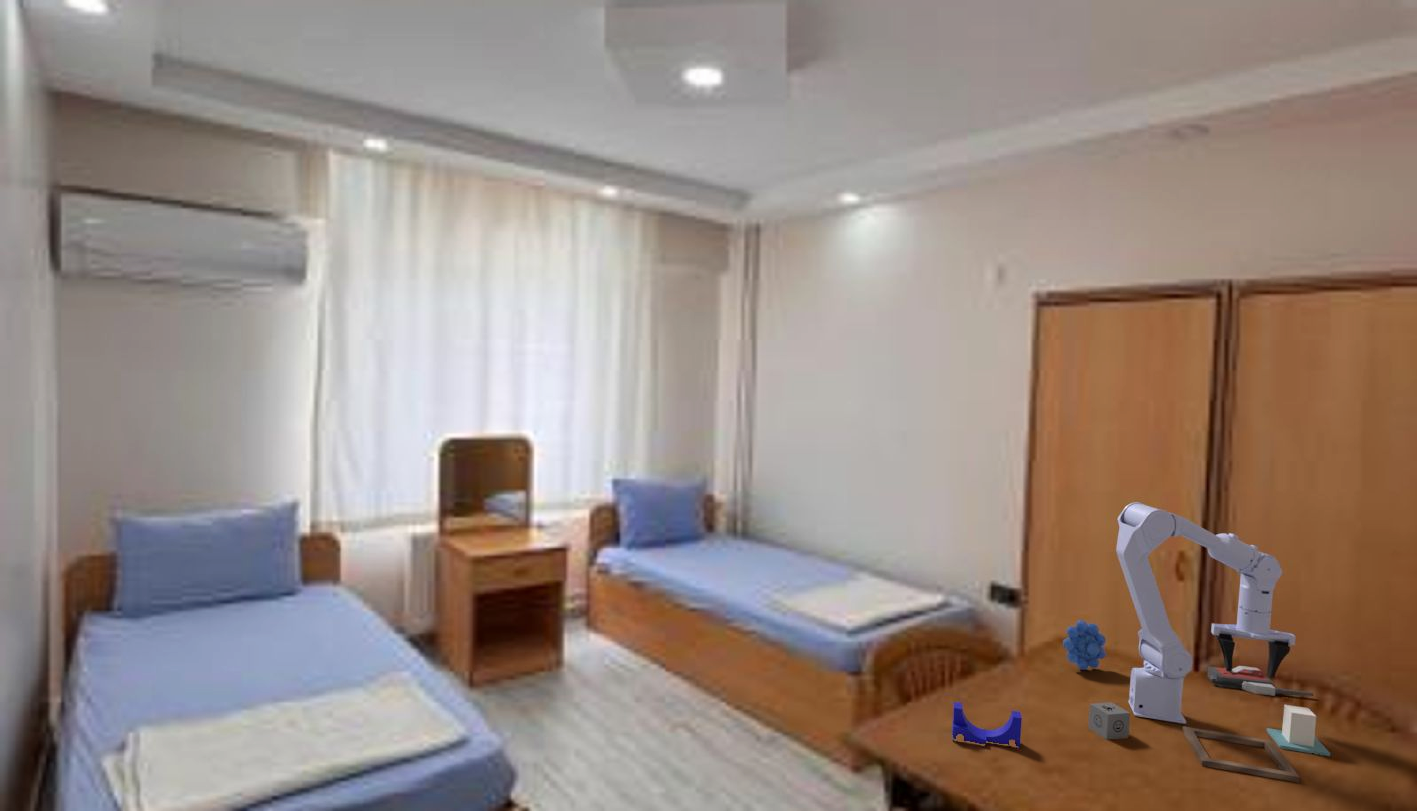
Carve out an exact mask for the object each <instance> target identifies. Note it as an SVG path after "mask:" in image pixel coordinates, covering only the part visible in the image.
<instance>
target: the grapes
mask: <svg viewBox="0 0 1417 811" xmlns="http://www.w3.org/2000/svg"><path fill="white" fill-rule="evenodd" d="M1066 635H1067V636H1068V637H1067V638H1064V640H1063V641H1062V647H1063V648H1064V650H1067V653H1066V659H1067V661H1069V662H1070V663H1072V664H1076V666H1077V668H1078V669H1080V670H1082V671H1085V670H1087V669H1089V667H1090V669H1096V668H1098V667H1099V665H1100V660H1102V659H1104V658H1105V657H1106V656H1107V655H1106V654H1107V653H1106V652H1107V651H1106V650H1105V648H1104V647H1103V646H1104V645H1106V643H1107V642H1106V641H1107V640H1106V637H1105V635H1104V634H1102V633H1100V628H1099V626H1098V625H1097V624H1095V623H1092V622H1090V623H1087V622H1086V621H1085V620H1082V619H1080V620H1077V621H1076V623H1075V626H1073V625H1070V626H1068V627H1067V628H1066Z"/></svg>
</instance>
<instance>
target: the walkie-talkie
mask: <svg viewBox="0 0 1417 811" xmlns="http://www.w3.org/2000/svg"><path fill="white" fill-rule="evenodd" d="M1207 678H1208V679H1209V680H1210V682H1211V684H1213V685H1215V684H1216V685H1215V686H1217V687H1221V688H1227V689H1228V688H1230V689H1231V688H1232V689H1238V690H1239V689H1240V690H1243V691H1246V692H1249V693H1252V694H1256V695H1263V696H1264V695H1265V696H1273V697H1275V696H1276V695H1280V694H1283V695H1292V696H1309V697H1313V696H1314V693H1313V692H1311V691H1303V690H1293V689H1287V688H1279V687H1275V686H1274V682H1273V681H1272V680H1271V678H1269V676H1268V675H1265V673H1264V672H1263V671H1262V670H1261V669H1259V668H1258V667H1253V666H1245V665H1238V666H1236V667H1234V668H1233V667H1232V672H1228V671H1227V670H1226V669H1225V667H1215V666H1208V667H1207Z"/></svg>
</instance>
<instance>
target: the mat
mask: <svg viewBox="0 0 1417 811" xmlns="http://www.w3.org/2000/svg"><path fill="white" fill-rule="evenodd" d="M1266 732H1267V733H1268V735H1269V736H1270V737H1271V739H1272V740H1273V741H1274V742H1275V743H1276V745H1277V746H1278V747H1279V749H1283V750H1289V751H1295V752H1299V753H1300V752H1301V753H1307V754H1312V753H1314V754H1313V755H1317V756H1318V755H1319V754H1320V756H1324V755H1325V757H1331V752H1329V750H1328V749H1327V748H1326V747H1325V746H1324V745H1323V744H1322V743H1321V741H1319V739H1318V738H1317V737H1316V736H1315V737H1314V747H1311V746H1305V745H1299V744H1293V743H1289V742H1288V741H1287V740H1286V738H1285V737H1284V736H1283V735H1282V729H1274V728H1270V727H1269V728H1268V727H1266Z"/></svg>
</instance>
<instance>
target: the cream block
mask: <svg viewBox="0 0 1417 811" xmlns="http://www.w3.org/2000/svg"><path fill="white" fill-rule="evenodd" d="M1316 724H1317V715H1316V714H1315V713H1314V712H1313V711H1311V709H1309V708H1308V707H1303V706H1296V705H1289V704H1284V705H1283V717H1282V728H1281V730H1282V735H1283V736H1284V737H1285V738H1286V740H1287V741H1288V742H1289V743H1293V744H1299V745H1305V746H1311V747H1314V737H1316V736H1315V735H1316V726H1317V725H1316Z"/></svg>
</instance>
